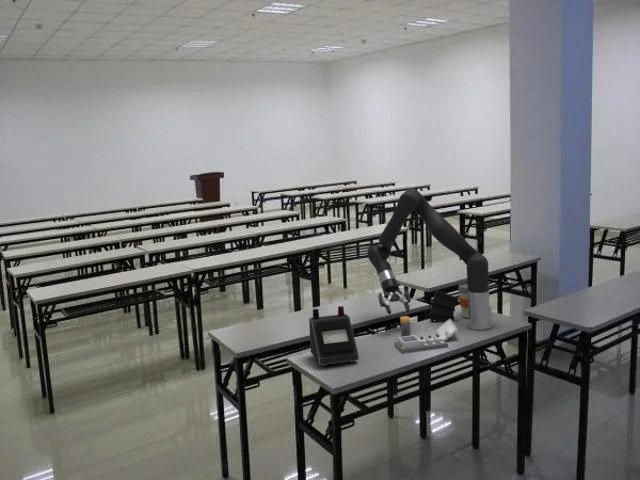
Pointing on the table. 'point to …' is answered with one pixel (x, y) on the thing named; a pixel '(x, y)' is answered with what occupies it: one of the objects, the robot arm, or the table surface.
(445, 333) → the light switch
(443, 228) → the robot arm
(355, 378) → the table surface
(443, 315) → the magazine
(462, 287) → the reusable coffee cup
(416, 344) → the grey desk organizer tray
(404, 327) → the lockout plug
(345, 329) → the voltmeter
